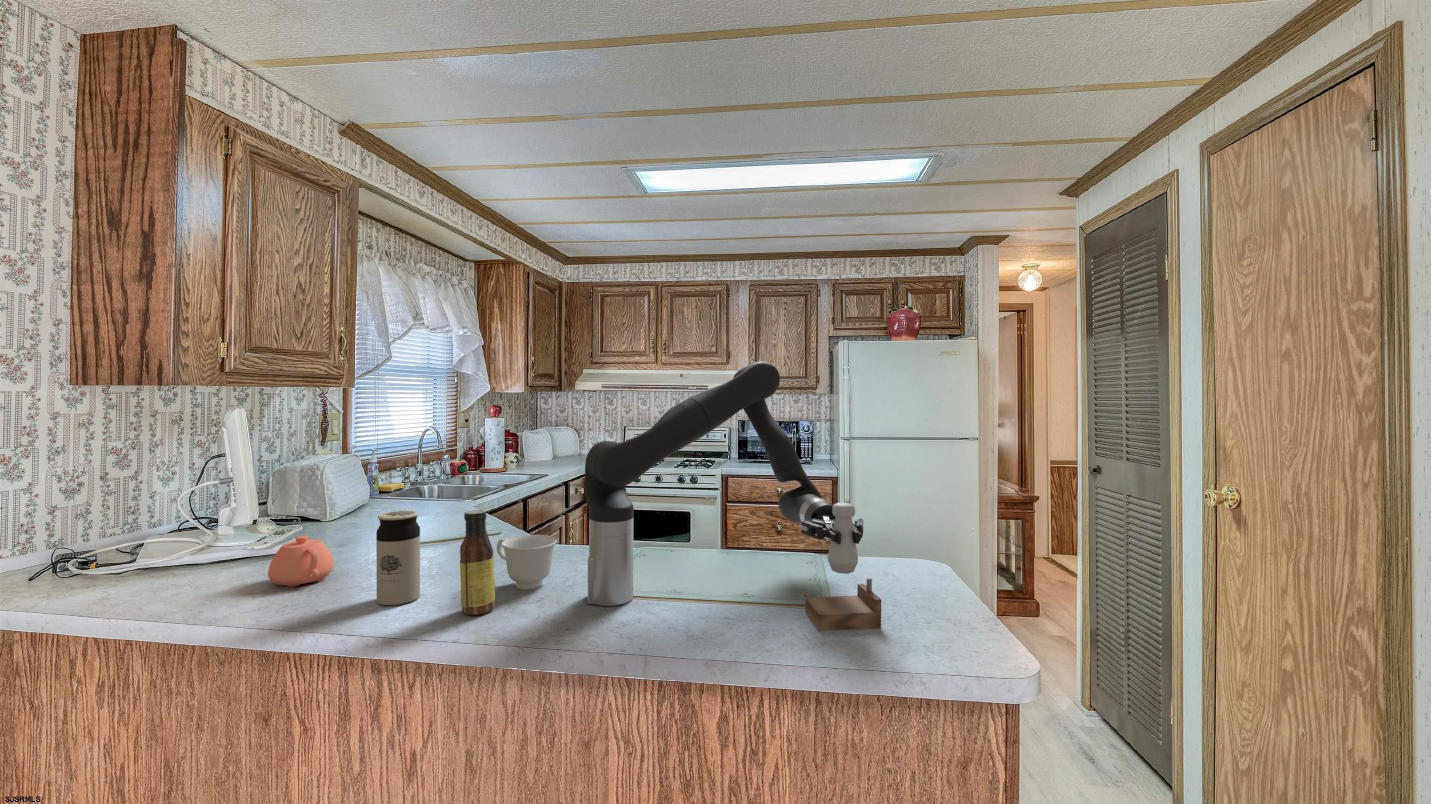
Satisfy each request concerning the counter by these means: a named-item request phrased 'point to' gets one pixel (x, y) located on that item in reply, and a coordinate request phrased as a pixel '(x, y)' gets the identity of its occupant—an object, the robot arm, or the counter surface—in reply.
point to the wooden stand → (846, 610)
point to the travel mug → (398, 558)
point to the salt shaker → (843, 540)
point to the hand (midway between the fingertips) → (848, 538)
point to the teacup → (527, 558)
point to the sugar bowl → (300, 562)
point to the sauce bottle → (476, 566)
